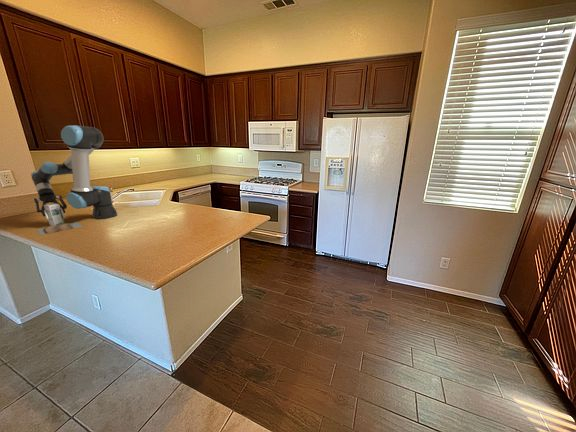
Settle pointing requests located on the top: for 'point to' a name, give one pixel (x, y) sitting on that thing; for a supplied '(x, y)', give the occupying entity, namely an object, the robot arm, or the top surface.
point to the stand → (58, 228)
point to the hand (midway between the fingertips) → (56, 218)
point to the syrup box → (54, 214)
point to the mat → (74, 225)
